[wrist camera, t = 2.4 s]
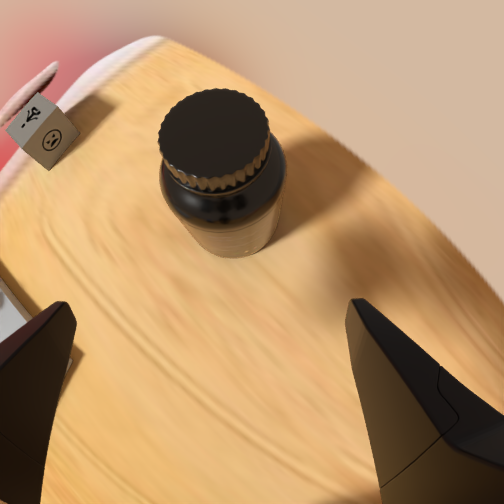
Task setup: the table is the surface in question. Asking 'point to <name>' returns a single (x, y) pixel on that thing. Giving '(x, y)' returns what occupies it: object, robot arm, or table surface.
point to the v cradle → (12, 314)
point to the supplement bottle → (222, 171)
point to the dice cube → (42, 131)
